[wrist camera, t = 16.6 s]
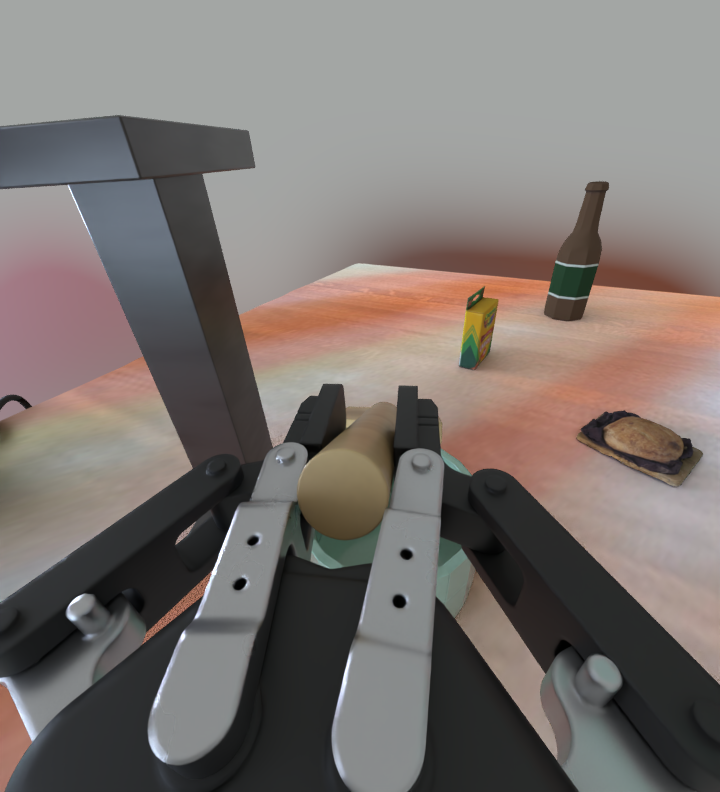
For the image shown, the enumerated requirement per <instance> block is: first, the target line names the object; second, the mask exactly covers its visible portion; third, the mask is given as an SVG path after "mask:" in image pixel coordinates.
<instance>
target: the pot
mask: <svg viewBox="0 0 720 792" xmlns="http://www.w3.org/2000/svg"><path fill="white" fill-rule="evenodd" d="M441 456H442V458H443V460H444V462H445V463H446V464H447V465H448V466H449V467H450V468H452V469H454V470H456V471H458V472H460V473H463V474H467V475H470V476H472V475H471V474H470V472H469V471H468V470H467V469H466V468H465V466H464V465H463V464H462V463H461V462H460V461H459V460H457V459H456V458H454V457H453V456H451V455H450V454H448V453H447V452H445V451H444V450H442V449H441ZM393 486H394V476H393V482H392V487H391V493H390V498H389V504H390V500H391V495H392V490H393ZM389 504H388V508H389ZM381 524H382V521H381V523H380V524H379V525H378V526H377V527H376V528H375V529H374V530H373V531H372V532H370V533H369V534H367V535H365V536H363V537H361V538H357V539H353V540H337V539H333V538H329V537H327V536H324V535H323V534H321V533H319V532H318V531H316V530H315V533H314V540H313V546H312V553H311V562H313V563H316V564H318V565H321V566H323V567H326V568H330V569H335V568H341V567H348V566H354V565H361V564H367V563H373V559H374V554H375V550H376V546H377V541H378V537H379V533H380V528H381ZM474 574H475V568H474V566H473V565H472V564H471V562H470V561H469V559H468V558H467V556H466V555H465V553H464V551H463V550H462V547H461V545H460V544H457V543H455V542H452V541H450V540H447V539H444V538H442V537H440V541H439V555H438V569H437V584H436V597H437V598H438V599H439V600H440V601H441V602H442V603H443V604H444V605H445V606H446V608H447V609H448V610H449V612H450V613H451V614H452V616H453V617H454V618H455V617H456V616H457V614H458V613H459V612H460V610H461V608H462V607H463V605H464V604H465V601H466V599H467V596H468V594H469V590H470V587H471V585H472V583H473V578H474Z"/></svg>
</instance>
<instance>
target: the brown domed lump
mask: <svg viewBox="0 0 720 792" xmlns="http://www.w3.org/2000/svg"><path fill="white" fill-rule="evenodd" d="M576 438H577V439H578V440H579V441H580V442H582V443H585V444H586V445H587V446H589V447H590V448H591V447H592V448H594V450H595V449H597V450H599V451H600V452H601V453H602V454H607V455H608V456H612V457H613V458H615V459H617V460H619V461H621V462H620V463H622V462H624V463H625V465H627V466H629V467H632V468H634V469H637V470H639V471H642V472H643V473H645V474H647V475H651V476H652V477H655V478H657V479H659V480H663V482H666V483H668V484H669V485H672V486H674V487H675V486H679V485H682V482H683V480H685V478H686V477H687V475H688V474H690V472H691V470H692V469H693V468H694V467H695V465H696V464H697V462H698V461H699V460H700V458H701V457H702V455H703V453H702V451H700V450H698V449H696V448H694V447H692V443H691V440H690V439H687V438H681V437H680V436H678V435H677V434H676V433H674V432H673V431H672V430H670V429H668V428H666V427H663V426H662V425H659V424H657V423H654V422H652V421H649V420H646V419H643V418H641V417H639V416H638V415H636V414H633V413H627V412H626V411H625V410H624V411H617V412H613V413H608V412H604V414H602V415H601V416H600V417H598V418H597V419H596V420H595V419H592V421H591V422H590V423H589V424H587V425H586V426H584V427H583V428H581V432H580V433H579V434H578V435H577V437H576Z"/></svg>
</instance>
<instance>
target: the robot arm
mask: <svg viewBox="0 0 720 792" xmlns="http://www.w3.org/2000/svg"><path fill="white" fill-rule="evenodd" d="M11 400H14V401H17V402H19V403H20V404H21V405H22V406H23V407H24V408H25V409H28V408H30V407H32V406H31V405H30V403H29V402H27V400H25V399H24V398H23V397H20V396H17V395H7V396H5V397H2V398H1V399H0V410H1V408H2V407H3V406H4V405H5V404H6V403H7V402H9V401H11ZM345 429H346V408H345V398H344V388H343V385H342V384H323V386H322V388H321V391H320V393H319V395H318V396H310V397H308V398H307V399H306V400H305V401H304V402H303V403H302V404H301V406H300V408H299V410H298V414H296V416H295V419H294V421H293V423H292V425H291V427H290V429H289V431H288V434H287V436H286V438H285V440H284V442H283V444H280V445H277V446H275V447H274V448H272V449H271V450H270V451H269V452H268V453H267V455H266V457H265V459H264V460H261V461H257V462H252V463H247V464H240V461H239V459H238V458H237V457H236V456H234V455H231V454H219V455H215V456H213V457H210V458H208V459H207V460H205V461H204V462H202V463H201V464H199V465H198V466H196V467H195V468H193V469H192V470H191V471H189V472H188V473H186V474H185V475H183V476H182V477H180V478H179V479H178V480H176V481H175V482H173V483H172V484H170V485H169V486H168V487H166V488H165V489H163V490H162V491H160V492H159V493H157V494H156V495H155V496H153V497H152V498H150V499H149V500H147V501H146V502H144V503H143V504H142V505H140V506H139V507H137V508H136V509H134V510H133V511H132V512H130V513H129V514H127V515H126V516H124V517H123V518H121V519H120V520H119V521H117V522H116V523H114V524H113V525H111V526H110V527H108V528H107V529H106V530H104V531H103V532H101V533H100V534H98V535H97V536H96V537H94V538H93V539H91V540H90V541H88V542H87V543H85V544H84V545H83V546H81V547H80V548H78V549H77V550H75V551H74V552H72V553H71V554H70V555H68V556H67V557H65V558H64V559H62V560H61V561H60V562H58V563H57V564H55V565H54V566H52V567H51V568H49V569H48V570H47V571H45V572H44V573H42V574H41V575H39V576H38V577H36V578H35V579H34V580H32V581H31V582H29V583H28V584H26V585H25V586H23V587H22V588H21V589H19V590H18V591H16V592H15V593H13V594H12V595H11V596H9V597H8V598H6V599H5V600H3V601H2V602H0V684H1V685H3V686H4V687H6V688H8V690H9V692H10V694H11V696H12V698H13V701H14V703H15V705H16V707H17V709H18V712H19V714H20V716H21V718H22V720H23V722H24V725H25V727H26V729H27V731H28V733H29V736H30V738H31V740H32V744H31V745H30V746H29V748H28V749H27V751H26V752H25V754H24V755H23V757H22V758H21V760H20V762H19V763H18V765H17V767H16V768H15V770H14V772H13V774H12V776H11V778H10V780H9V782H8V784H7V787H6V789H5V792H720V685H719V684H718V682H717V681H716V680H715V679H714V678H713V677H712V676H711V675H710V674H709V673H708V672H707V671H706V670H705V669H704V668H703V667H702V666H701V665H700V664H699V663H698V662H697V661H696V660H695V659H694V658H693V657H692V656H691V655H690V654H689V653H688V652H687V651H686V650H685V649H684V648H683V647H682V646H681V645H680V644H679V643H678V642H677V641H676V640H675V639H674V638H673V637H672V636H671V635H670V634H669V633H668V632H667V631H666V630H665V629H664V628H663V627H662V626H661V625H660V624H659V623H658V622H657V621H656V620H655V619H654V618H653V617H652V616H651V615H650V614H649V613H648V612H647V611H646V610H645V609H644V608H643V607H642V606H641V605H640V604H639V603H638V602H637V601H636V600H635V599H634V598H633V597H632V596H631V595H630V594H629V593H628V592H627V591H626V590H625V589H624V588H623V587H622V586H621V585H620V584H619V583H618V582H617V581H616V580H615V579H614V578H613V577H612V576H611V575H610V574H609V573H608V572H607V571H606V570H605V569H604V568H603V567H602V566H601V565H600V564H599V563H598V562H597V561H596V560H595V559H594V558H593V557H592V556H591V555H590V554H589V553H588V552H587V551H586V550H585V549H584V548H583V547H582V546H581V545H580V544H579V543H578V542H577V541H576V540H575V539H574V538H573V537H572V536H571V535H570V534H569V533H568V531H567V530H566V529H565V528H564V527H563V526H562V525H561V524H560V523H559V522H558V521H557V520H556V519H555V518H554V517H553V516H552V515H551V514H550V513H549V512H548V511H547V510H546V509H545V508H544V507H543V506H542V505H541V504H540V503H539V502H538V501H537V500H536V499H535V498H534V497H533V496H532V495H531V494H530V493H529V492H528V491H527V490H526V489H525V488H524V487H523V486H522V485H521V484H520V483H519V482H518V481H517V480H516V479H515V478H514V477H512V476H511V475H509V474H508V473H506V472H503V471H501V470H497V469H483V470H479V471H477V472H476V473H474V474H473V475H472V476H470V475H467V474H463V473H460V472H458V471H456V470H454V469H452V468H450V467H449V466H448V465H447V464H446V463H445V462H444V460H443V458H442V456H441V446H440V433H439V419H438V407H437V406H436V405H435V403H434V402H433V401H432V400H431V399H418V386H399V389H398V401H397V413H396V424H395V436H394V467H395V469H394V486H393V490H392V495H391V500H390V504H389V508H386V509H385V511H384V515H383V519H382V524H381V528H380V533H379V537H378V541H377V546H376V550H375V554H374V559H373V563H367V564H361V565H354V566H348V567H341V568H335V569H330V568H326V567H323V566H321V565H318V564H316V563H313V562H311V553H312V546H313V540H314V533H315V529H314V528H313V527H312V526H311V525H310V524H309V523H308V522H307V521H306V519H305V518H304V516H303V514H302V512H301V510H300V507H299V504H298V499H297V484H298V480H299V477H300V474H301V472H302V470H303V468H304V467H305V465H306V464H307V463H308V462H309V461H310V460H311V459H312V458H313V457H314V456H315V455H317V454H318V453H319V452H320V451H321V450H322V449H323V448H325V447H326V446H327V445H328V444H329V443H330V442H331V441H333V440H334V439H335V438H336V437H337V436H338V435H339V434H341V433H342V432H343V431H344V430H345ZM209 510H210V512H211V514H212V516H211V517H209V518H208V519H207V520H206V521H204V522H203V523H202V524H201V525H200V526H198V527H197V528H196V529H195V530H194V531H192V532H191V533H190V534H189V535H187V536H186V537H185V538H184V539H183V540H181V541H180V542H179V543H178V544H176V545H175V543H176V540H177V538H178V537H179V535H180V534H181V533H182V532H183V531H184V530H186V529H187V528H188V527H189V526H191V525H192V524H193V523H194V522H196V521H197V520H198V519H199V518H200V517H202V516H203V515H204V514H205V513H207V512H208V511H209ZM440 537H442V538H444V539H447V540H450V541H452V542H455V543H457V544H460V545H461V547H462V550H463V551H464V553H465V555H466V556H467V558H468V559H469V561H470V562H471V564H472V565H473V566H474V568H475V569H476V571H477V572H478V574H479V575H480V577H481V578H482V580H483V581H484V583H485V584H486V586H487V587H488V589H489V590H490V592H491V593H492V595H493V596H494V598H495V599H496V601H497V602H498V604H499V605H500V607H501V608H502V610H503V611H504V613H505V614H506V616H507V617H508V619H509V620H510V622H511V623H512V625H513V626H514V628H515V629H516V631H517V632H518V634H519V635H520V637H521V638H522V640H523V641H524V643H525V644H526V646H527V647H528V648H529V650H530V651H531V653H532V654H533V656H534V657H535V659H536V660H537V662H538V663H539V665H540V666H541V668H542V669H543V671H544V672H545V674H546V675H545V677H544V678H543V680H542V683H541V689H540V696H541V702H542V706H543V709H544V712H545V714H546V716H547V718H548V720H549V722H550V724H551V726H552V729H553V732H554V734H555V738H556V743H557V760H556V759H555V757H554V756H553V755H552V753H551V752H550V750H549V749H548V748H547V746H546V745H545V743H544V742H543V741H542V739H541V738H540V736H539V735H538V734H537V732H536V731H535V730H534V728H533V727H532V725H531V724H530V723H529V721H528V720H527V718H526V717H525V716H524V714H523V713H522V712H521V710H520V709H519V707H518V706H517V705H516V703H515V702H514V700H513V699H512V698H511V696H510V695H509V693H508V692H507V691H506V689H505V688H504V687H503V685H502V684H501V682H500V681H499V680H498V678H497V677H496V675H495V674H494V673H493V671H492V670H491V669H490V667H489V666H488V664H487V663H486V662H485V660H484V659H483V657H482V656H481V655H480V653H479V652H478V650H477V649H476V648H475V646H474V645H473V644H472V642H471V641H470V639H469V638H468V637H467V635H466V634H465V632H464V631H463V630H462V628H461V627H460V625H459V624H458V623H457V621H456V620H455V619H454V617H453V616H452V614H451V613H450V612H449V610H448V609H447V608H446V606H445V605H444V604H443V603H442V602H441V601H440V600H439V599H438V598H437V597H436V584H437V569H438V555H439V541H440ZM213 569H214V570H213ZM212 570H213V572H212V575H211V577H210V580H209V583H208V585H207V588H206V590H205V593H204V595H203V596H202V597H201V598H200V599H198V600H197V601H196V602H195V603H193V604H192V605H191V606H190V607H189V608H187V609H186V610H185V611H184V612H182V613H181V614H180V615H179V616H177V617H176V618H175V619H174V620H172V621H171V622H170V623H169V624H167V625H166V626H165V627H164V628H162V629H161V630H160V631H159V632H158V633H156V634H155V635H154V636H153V637H151V638H150V639H149V640H148V641H146V642H145V643H144V644H143V645H142V643H143V640H144V638H145V634H146V632H147V631H148V630H150V629H151V628H152V627H153V626H154V625H155V624H156V623H157V622H158V621H159V620H160V619H161V618H162V617H163V616H164V615H165V614H167V613H168V612H169V611H170V610H171V609H172V608H173V607H174V606H175V605H176V604H177V603H178V602H179V601H180V600H181V599H182V598H183V597H185V596H186V595H187V594H188V593H189V592H190V591H191V590H192V589H193V588H194V587H195V586H196V585H197V584H198V583H199V582H200V581H201V580H203V579H204V578H205V577H206V576H207V575H208V574H209V573H210V572H211V571H212Z"/></svg>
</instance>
